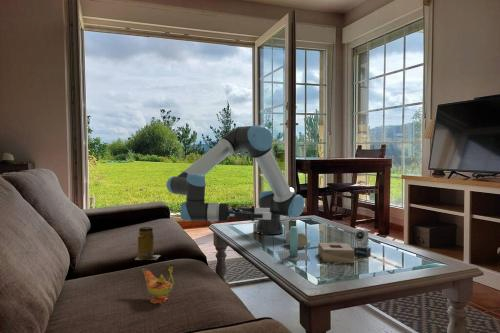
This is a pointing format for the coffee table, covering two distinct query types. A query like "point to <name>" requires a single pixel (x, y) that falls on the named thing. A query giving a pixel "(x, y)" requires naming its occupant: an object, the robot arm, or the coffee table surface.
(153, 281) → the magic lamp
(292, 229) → the dowel
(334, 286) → the coffee table surface
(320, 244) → the socket block
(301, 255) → the mat
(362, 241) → the watch
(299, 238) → the ceramic mug
